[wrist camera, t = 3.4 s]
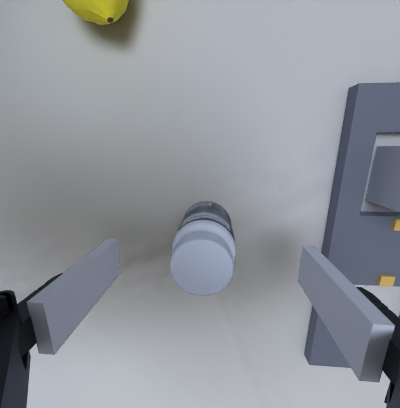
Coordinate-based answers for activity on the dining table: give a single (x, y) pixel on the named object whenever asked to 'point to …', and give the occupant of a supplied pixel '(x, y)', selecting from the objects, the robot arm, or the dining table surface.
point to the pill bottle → (203, 250)
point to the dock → (358, 210)
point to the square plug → (385, 178)
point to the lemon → (98, 10)
